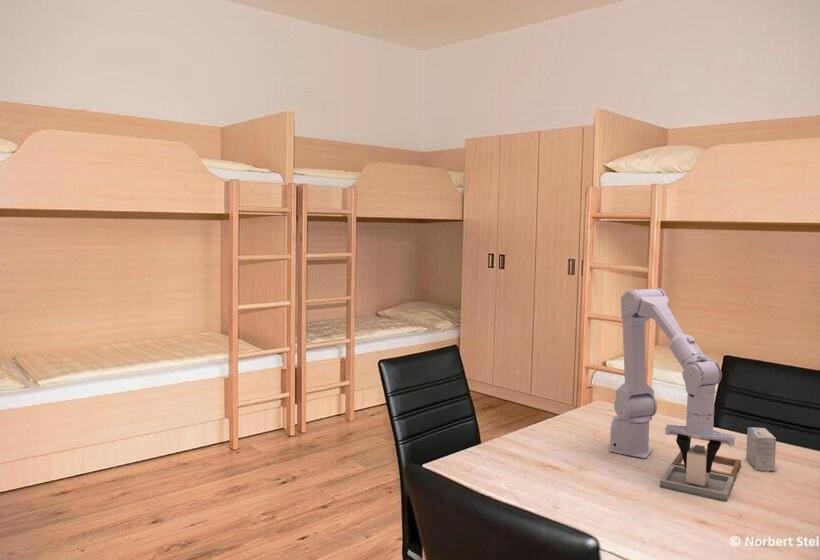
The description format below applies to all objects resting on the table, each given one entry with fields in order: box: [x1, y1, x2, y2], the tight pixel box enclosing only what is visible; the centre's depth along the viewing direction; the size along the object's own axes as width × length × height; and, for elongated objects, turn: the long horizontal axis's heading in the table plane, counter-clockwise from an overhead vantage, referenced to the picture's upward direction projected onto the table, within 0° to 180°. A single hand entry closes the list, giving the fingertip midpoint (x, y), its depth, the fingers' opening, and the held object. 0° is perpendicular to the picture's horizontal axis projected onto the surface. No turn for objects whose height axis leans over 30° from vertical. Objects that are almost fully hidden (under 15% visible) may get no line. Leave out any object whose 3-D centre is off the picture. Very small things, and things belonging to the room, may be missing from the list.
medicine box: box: [745, 427, 777, 472], centre depth 161 cm, size 8×4×9 cm, turn 168°
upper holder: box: [671, 450, 742, 483], centre depth 160 cm, size 14×12×2 cm
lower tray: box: [659, 463, 735, 502], centre depth 149 cm, size 14×12×2 cm
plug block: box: [686, 444, 709, 486], centre depth 149 cm, size 4×6×8 cm, turn 146°
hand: (697, 469), depth 149 cm, fingers closed on plug block, 4 cm apart
